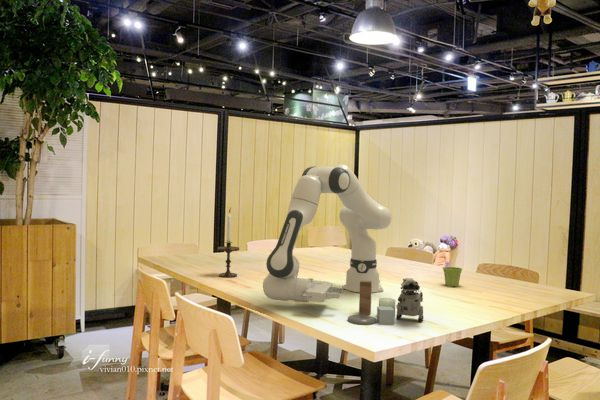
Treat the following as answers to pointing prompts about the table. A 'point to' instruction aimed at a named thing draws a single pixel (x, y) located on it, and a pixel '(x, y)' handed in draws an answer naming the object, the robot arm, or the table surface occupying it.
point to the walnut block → (365, 297)
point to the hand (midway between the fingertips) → (341, 293)
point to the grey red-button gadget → (410, 300)
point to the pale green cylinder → (387, 303)
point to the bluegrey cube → (385, 315)
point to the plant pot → (452, 276)
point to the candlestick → (228, 250)
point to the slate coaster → (362, 319)
